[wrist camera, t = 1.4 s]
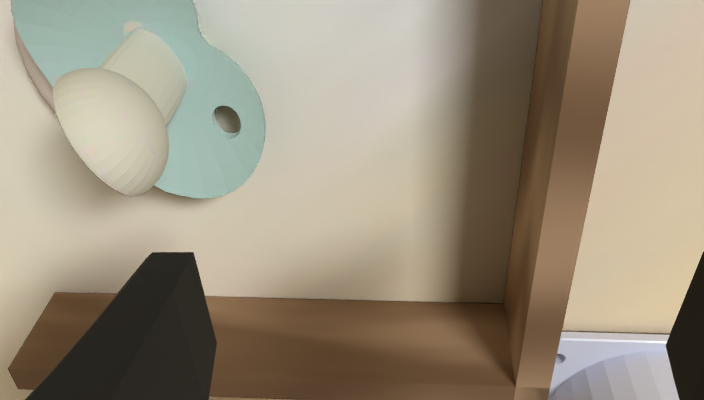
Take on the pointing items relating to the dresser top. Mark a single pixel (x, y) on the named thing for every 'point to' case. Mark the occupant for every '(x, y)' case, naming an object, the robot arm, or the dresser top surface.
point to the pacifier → (142, 93)
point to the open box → (424, 317)
